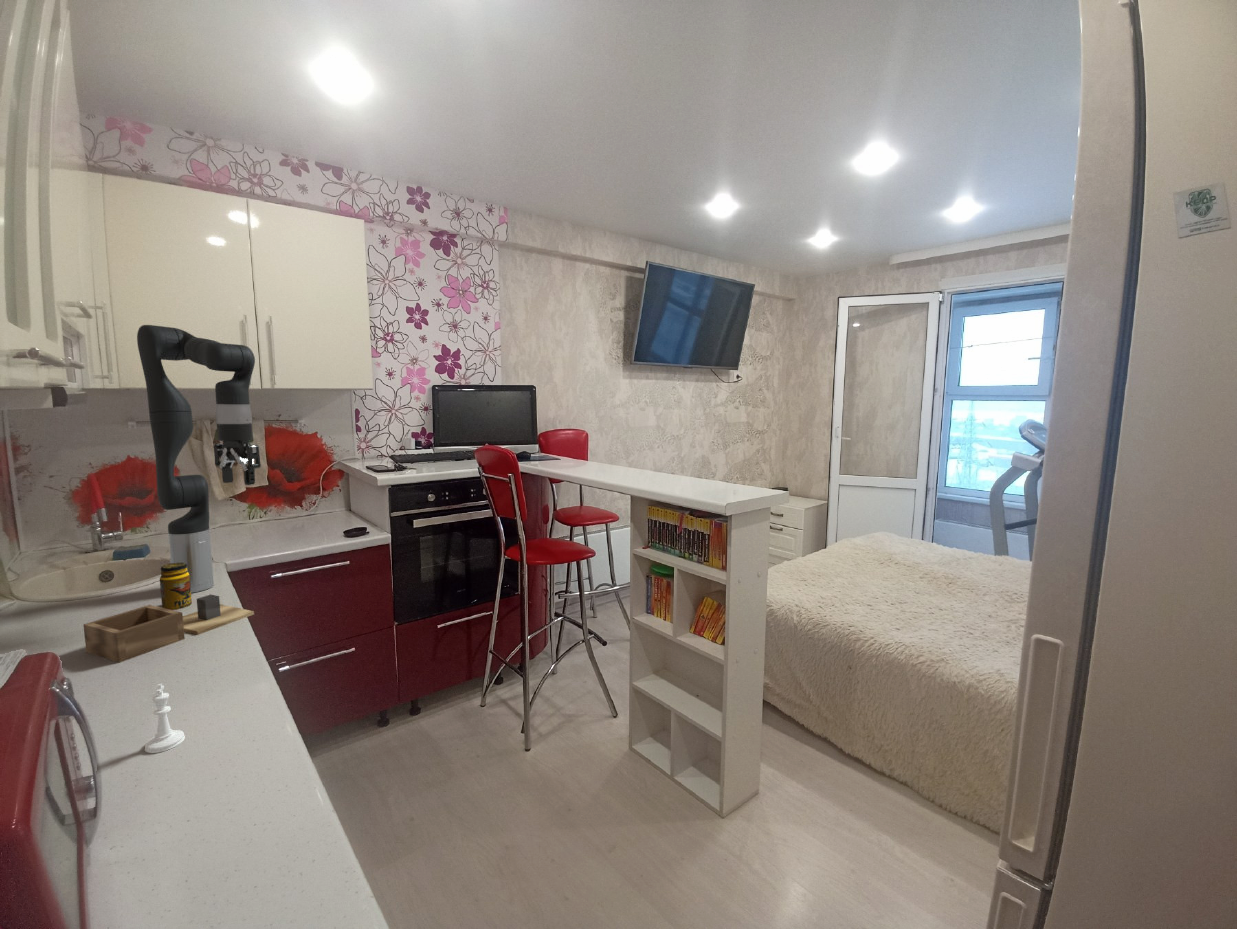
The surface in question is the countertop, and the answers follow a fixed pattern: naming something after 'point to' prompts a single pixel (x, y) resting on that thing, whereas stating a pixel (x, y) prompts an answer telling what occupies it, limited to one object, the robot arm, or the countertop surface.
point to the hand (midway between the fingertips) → (238, 483)
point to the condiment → (175, 586)
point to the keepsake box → (133, 633)
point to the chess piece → (163, 726)
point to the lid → (212, 615)
